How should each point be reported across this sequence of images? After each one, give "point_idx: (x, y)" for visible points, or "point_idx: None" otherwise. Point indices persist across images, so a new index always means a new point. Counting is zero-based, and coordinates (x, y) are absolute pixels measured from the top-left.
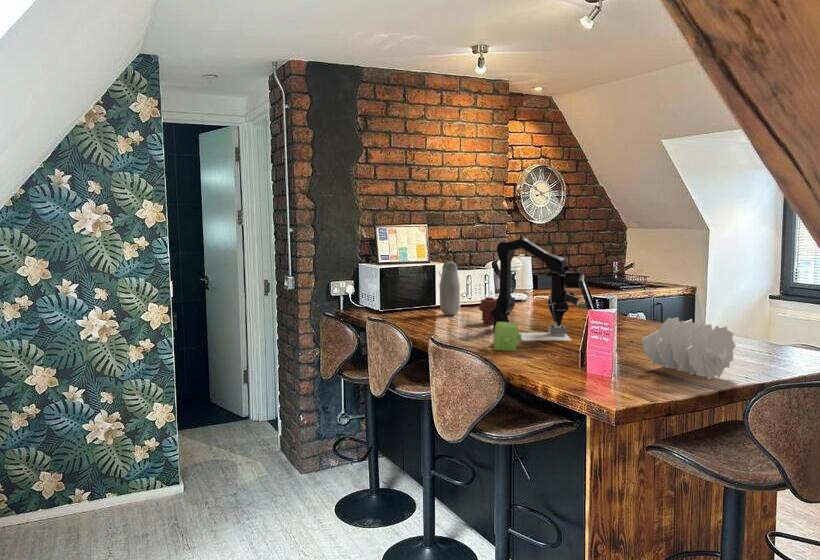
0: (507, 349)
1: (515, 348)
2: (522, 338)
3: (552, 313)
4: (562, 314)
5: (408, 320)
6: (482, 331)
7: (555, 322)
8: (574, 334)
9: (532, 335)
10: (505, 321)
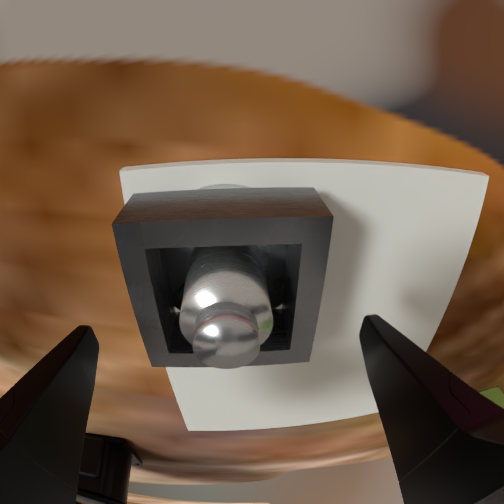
0: None
1: (501, 391)
2: (352, 415)
3: (76, 448)
4: (490, 416)
5: (77, 501)
6: (159, 475)
7: (234, 366)
8: (126, 71)
9: (273, 393)
10: (110, 477)
